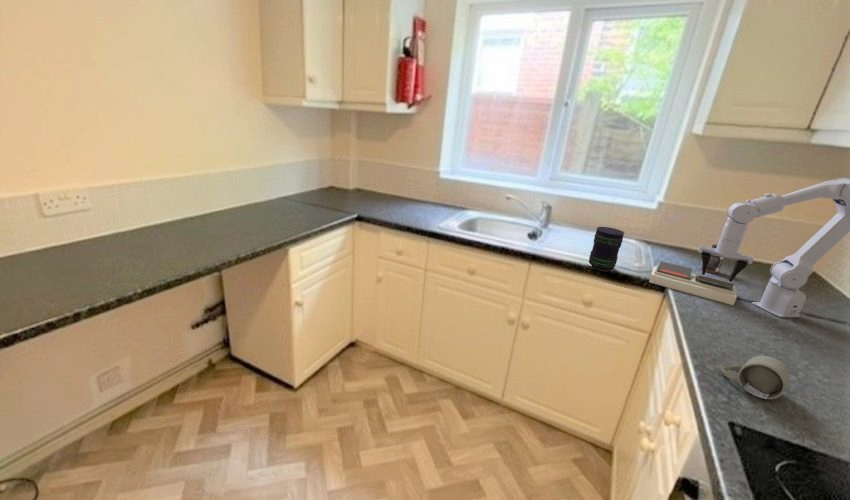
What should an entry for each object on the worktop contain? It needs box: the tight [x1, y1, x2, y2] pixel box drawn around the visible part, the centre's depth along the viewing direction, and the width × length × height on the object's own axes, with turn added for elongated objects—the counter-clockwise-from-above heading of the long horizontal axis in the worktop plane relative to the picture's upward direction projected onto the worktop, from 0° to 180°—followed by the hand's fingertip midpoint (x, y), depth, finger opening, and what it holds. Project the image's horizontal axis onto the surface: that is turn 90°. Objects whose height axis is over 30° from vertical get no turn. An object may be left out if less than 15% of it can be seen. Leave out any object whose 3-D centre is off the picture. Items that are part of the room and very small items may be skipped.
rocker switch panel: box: [648, 264, 737, 306], centre depth 137 cm, size 25×12×4 cm, turn 55°
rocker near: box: [696, 274, 735, 287], centre depth 133 cm, size 10×7×1 cm
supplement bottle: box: [701, 243, 724, 275], centre depth 155 cm, size 6×6×11 cm
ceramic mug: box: [721, 355, 790, 400], centre depth 84 cm, size 11×8×8 cm
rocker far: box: [657, 260, 693, 280], centre depth 139 cm, size 10×7×1 cm
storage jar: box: [588, 226, 625, 272], centre depth 148 cm, size 10×10×15 cm
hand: (716, 277), depth 130 cm, fingers open, 7 cm apart
